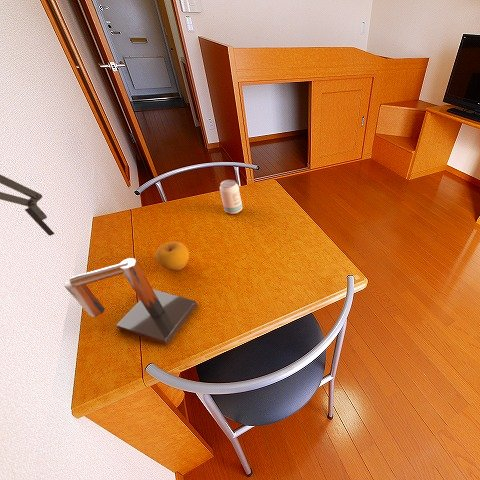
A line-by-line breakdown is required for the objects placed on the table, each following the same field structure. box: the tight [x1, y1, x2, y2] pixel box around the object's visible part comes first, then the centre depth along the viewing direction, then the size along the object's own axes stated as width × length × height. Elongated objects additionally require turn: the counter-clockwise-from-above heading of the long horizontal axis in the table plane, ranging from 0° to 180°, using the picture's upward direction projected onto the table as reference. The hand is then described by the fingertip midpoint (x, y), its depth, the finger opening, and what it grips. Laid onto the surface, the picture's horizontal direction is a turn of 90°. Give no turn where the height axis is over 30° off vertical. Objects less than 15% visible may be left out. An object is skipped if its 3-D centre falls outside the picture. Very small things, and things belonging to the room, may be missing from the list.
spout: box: [63, 257, 164, 318], centre depth 62 cm, size 13×3×18 cm, turn 119°
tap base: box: [115, 288, 198, 346], centre depth 71 cm, size 14×12×2 cm
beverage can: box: [219, 179, 243, 215], centre depth 105 cm, size 7×7×12 cm
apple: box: [154, 241, 190, 271], centre depth 82 cm, size 9×9×9 cm
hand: (13, 253), depth 55 cm, fingers open, 13 cm apart
